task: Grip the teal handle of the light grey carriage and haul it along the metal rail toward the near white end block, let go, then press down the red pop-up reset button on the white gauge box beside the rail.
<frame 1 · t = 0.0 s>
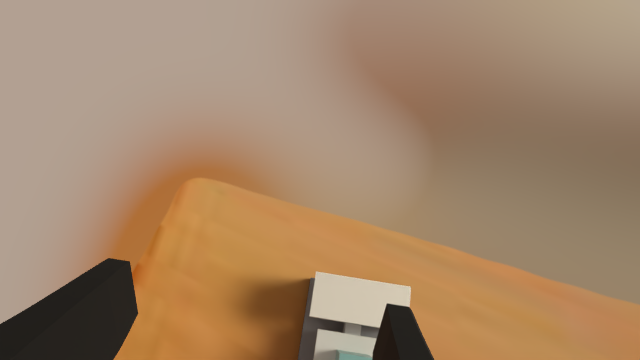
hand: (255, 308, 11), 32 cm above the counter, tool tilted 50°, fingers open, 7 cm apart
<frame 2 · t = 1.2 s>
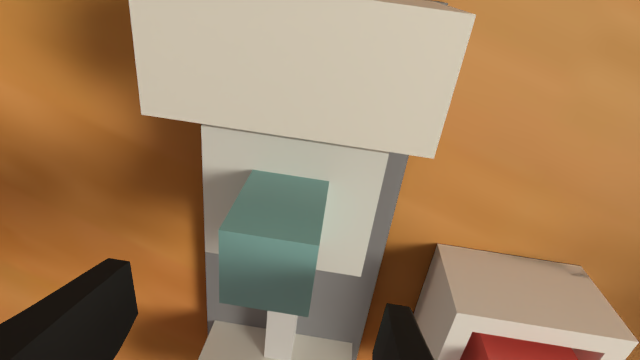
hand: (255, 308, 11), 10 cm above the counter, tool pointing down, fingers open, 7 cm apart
carriage: (285, 213, 15), point 5 cm above the counter, slide at 0.0 cm
rail bench: (296, 221, 21), on the counter
gauge box: (485, 305, 23), on the counter
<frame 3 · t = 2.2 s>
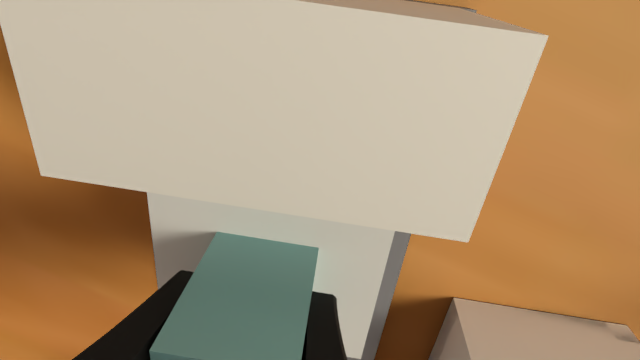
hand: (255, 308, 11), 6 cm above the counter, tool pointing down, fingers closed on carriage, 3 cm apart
carriage: (261, 288, 11), point 5 cm above the counter, slide at 0.0 cm, touching gripper
rail bench: (283, 270, 18), on the counter
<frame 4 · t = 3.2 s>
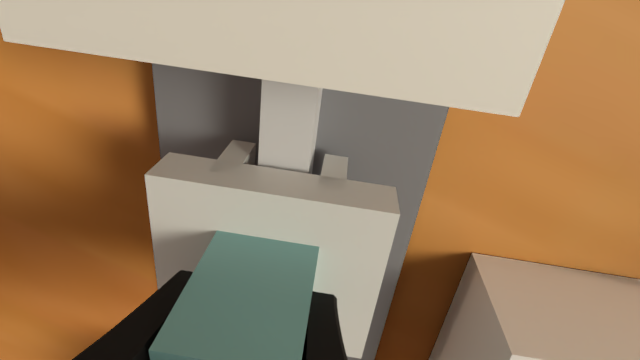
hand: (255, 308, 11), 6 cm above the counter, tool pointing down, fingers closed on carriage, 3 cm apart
carriage: (262, 287, 11), point 5 cm above the counter, slide at 2.7 cm, touching gripper
rail bench: (288, 223, 16), on the counter
gauge box: (529, 330, 18), on the counter
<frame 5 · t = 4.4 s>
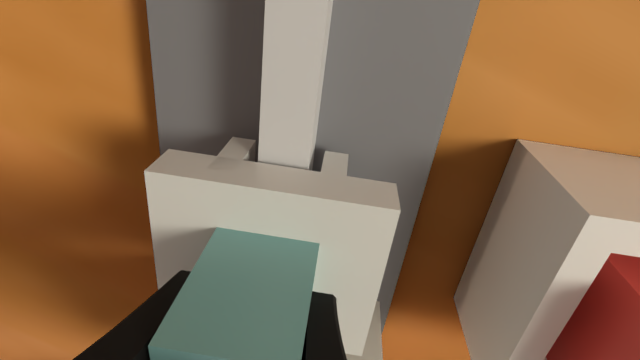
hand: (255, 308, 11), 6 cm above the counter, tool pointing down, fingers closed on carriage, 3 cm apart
carriage: (262, 284, 11), point 5 cm above the counter, slide at 7.8 cm, touching gripper
rail bench: (299, 106, 14), on the counter
gauge box: (578, 243, 16), on the counter
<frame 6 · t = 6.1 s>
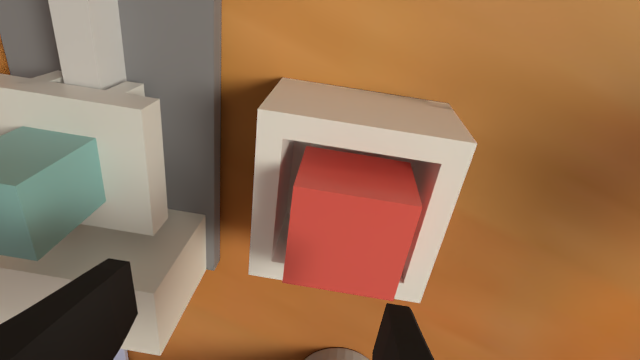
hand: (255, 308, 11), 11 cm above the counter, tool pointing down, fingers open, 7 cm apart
carriage: (58, 170, 15), point 5 cm above the counter, slide at 7.8 cm
rail bench: (119, 51, 18), on the counter
gauge box: (350, 164, 20), on the counter
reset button: (348, 220, 15), point 5 cm above the counter, slide at 0.0 cm
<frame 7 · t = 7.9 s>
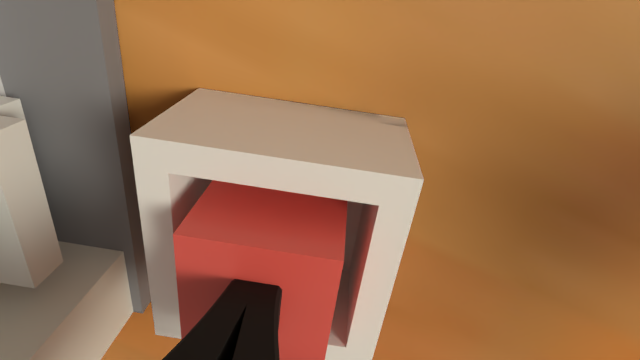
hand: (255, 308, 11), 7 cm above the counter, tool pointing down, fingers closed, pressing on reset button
gauge box: (292, 192, 16), on the counter
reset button: (268, 267, 12), point 5 cm above the counter, slide at 0.4 cm, touching gripper
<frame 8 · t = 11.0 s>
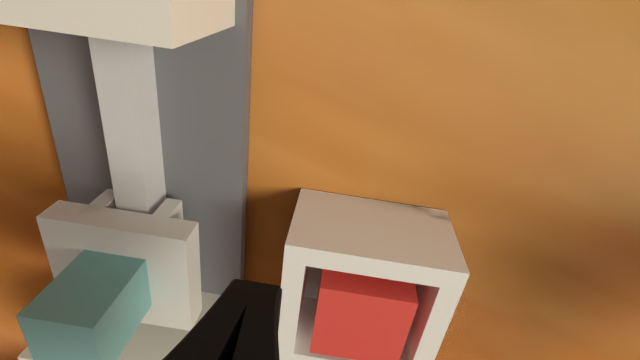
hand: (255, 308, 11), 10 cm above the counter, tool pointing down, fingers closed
carriage: (113, 284, 18), point 5 cm above the counter, slide at 7.8 cm
rail bench: (158, 166, 21), on the counter
gauge box: (360, 256, 22), on the counter
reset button: (360, 301, 19), point 4 cm above the counter, slide at 1.6 cm
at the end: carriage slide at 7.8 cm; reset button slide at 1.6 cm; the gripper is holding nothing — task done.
